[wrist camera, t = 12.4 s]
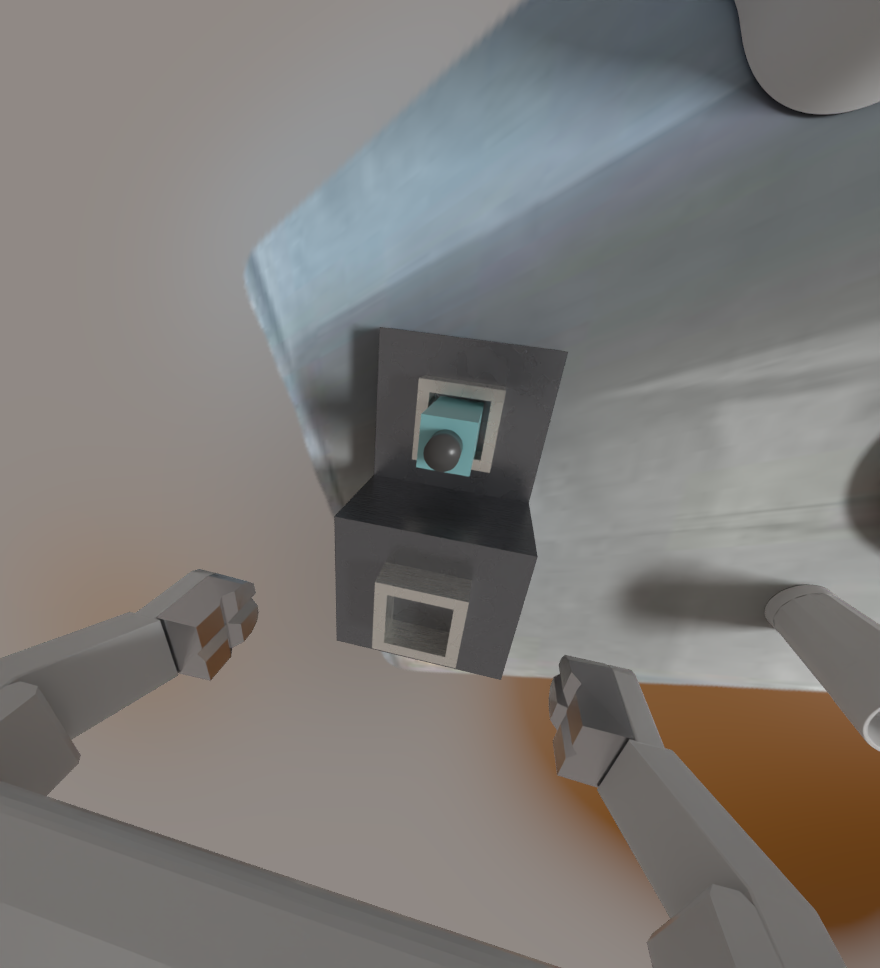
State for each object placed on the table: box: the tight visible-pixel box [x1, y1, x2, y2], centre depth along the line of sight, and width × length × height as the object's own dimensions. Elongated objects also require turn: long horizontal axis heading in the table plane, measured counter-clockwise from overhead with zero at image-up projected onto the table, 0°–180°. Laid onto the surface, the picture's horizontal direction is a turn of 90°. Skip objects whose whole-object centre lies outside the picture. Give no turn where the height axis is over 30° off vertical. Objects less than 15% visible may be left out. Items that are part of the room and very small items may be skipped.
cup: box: [765, 585, 880, 751], centre depth 30 cm, size 8×8×12 cm
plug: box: [416, 396, 484, 477], centre depth 26 cm, size 5×4×10 cm
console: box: [335, 327, 568, 680], centre depth 30 cm, size 28×16×14 cm, turn 173°
